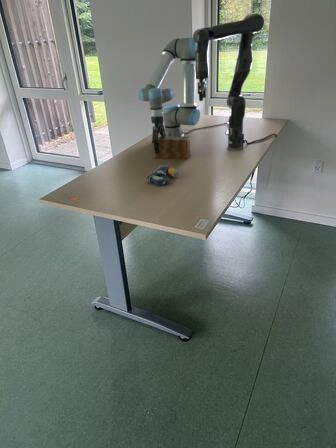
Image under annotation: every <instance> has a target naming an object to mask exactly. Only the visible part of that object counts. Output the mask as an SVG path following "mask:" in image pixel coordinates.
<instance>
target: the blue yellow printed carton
mask: <svg viewBox="0 0 336 448" xmlns="http://www.w3.org/2000/svg"><path fill="white" fill-rule="evenodd" d="M167 175H169V176H171V177H172V178H174V179H178V177H179V176H180V171H179V170H177V169H176V168H174V167H170V166H169V165H168V164H167V165H159V166H158V167H157V168H156V169H155V170H154V171H153V172H151V173H150V174H149V175H148V176H146V182H148V183H150V184H151V183H153V184H154V185H157V186H162V185H166V184H167V183H168V182H169V180H170V179H169V177H167Z"/></svg>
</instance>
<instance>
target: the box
mask: <svg viewBox="0 0 336 448" xmlns="http://www.w3.org/2000/svg"><path fill="white" fill-rule="evenodd" d="M190 144H191V143H190V136H184V137H160V136H158V146H159V153H155V151H154V150H153V152H154V158H155V159H176V160H177V159H179V160H188V159H189V158H190V157H191V145H190Z"/></svg>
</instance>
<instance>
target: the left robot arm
mask: <svg viewBox="0 0 336 448" xmlns="http://www.w3.org/2000/svg"><path fill="white" fill-rule="evenodd" d="M196 50H197V43H196V42H195V41H194V40H193V37H180V38H174V39H172V40H171V41H170V42H168V44H166V45H165V47H164V48H163V49H162V51H161V53H160V58H159V60H158V62H157V64H156V66H155V68H154V70H153V72H152V73H151V75H150V77H149V79H148V81H147V83H146V84H145V87H143V88H140V89H139V90H138V98H139V100H140V101H142V102H149V112H150V116H151V117H150V119H151V120H150V122H151V123H152V124H154V126H152V137H151V139H152V141H151V143H152V144H153V152H154V151H155V152H154V154H155V153H159V146H158V137H185V136H184V134H186V135H187V134H190V132H193V131H195V130H196V131H197V130H200V129H206V128H213V127H219V126H223V125H227V124H228V121H227V122H224V123H219V124H213V125H209V126H203V127H196V128H192V129H190V130H189V131H187V132H183V129H182V126H188V127H190V126H191V127H192V126H193V127H195V126H196V125H197V124H198V123H199V121H200V118H201V110H200V109H199V108H198V105H197V103H196V77H195V51H196ZM177 59H180V60H179V62H180V63H181V64H182V84H181V85H182V86H181V87H182V89H181V90H182V94H181V96H182V97H181V98H182V99H181V100H182V103H181V104H171V105H166V106H165V107H163V104H165V103H168V102H170V101H172V100H173V99H174V97H175V95H174V91H173V89H172V88H169V87H166V88H162V89H161V88H160V86H161V84H162V82H163V80H164V79H165V76H166V74H167V73H168V70H169V68H170V66H171V65H172V64H173V63H174V62H175V60H177ZM159 135H160V136H159Z"/></svg>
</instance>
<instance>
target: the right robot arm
mask: <svg viewBox="0 0 336 448" xmlns="http://www.w3.org/2000/svg"><path fill="white" fill-rule="evenodd" d="M264 25H265V19H264V16H263V15H262V14H260V13H249V14H247V15H246V16H245V17H244V19H241V20H238V21H237V20H236V21H231V22H230V21H229V22H224V23H220V24H219V23H218V24H215V25H213V26H207V27H201V28H198V29H196V30H195V31H193V34H192V38H193V40H194V41H195V42H196V43H197V50H196V51H195V80H198V82H197V94H198V101H199V102H203V101H204V99H206V98H207V92H206V91H207V89H208V88H207V87H208V85H207V84H208V83H207V79H209V75H210V74H209V72H210V71H209V68H210V67H209V47H210V41H218V40H222V39H226V38H229V37H232V36H236V35H240V41H239V45H238V50H237V56H236V60H235V65H234V70H233V75H232V78H231V79H232V80H231V83H230V84H231V85H230V88H229V91H228V94H227V98H226V106H227V108H228V109H230V110H231V111H230V116H228V119H227V120H228V121H227V122H228V123H227V124H228V125H227V131H228V134H227V149H228V150H229V151H230V150H231V151H238V150H241V149H244V146H245V145H244V144H247V145H250V144H253V143H256V142H260V141H264V140H266V139H267V138H270V137H272V136H275V137H276V136H277V134H276V133H271V134H269V135H267V136H265V137H262V138H260V139H256V140H253V141H250V142H248V140H246V139H245V133H244V118H245V117H246V115H245V114H246V99H245V96H243V95H241V94H242V89H243V86H244V83H245V81H246V80H247V78H248V77H249V75H250V73H251V69H252V65H253V58H254V57H253V50H252V49H253V39H254V35H255V33H256V34H257V33H259V32H260V31H261V30H262V29H263V28H264Z"/></svg>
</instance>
